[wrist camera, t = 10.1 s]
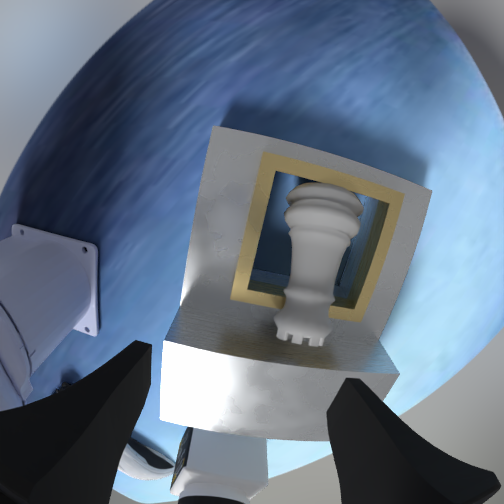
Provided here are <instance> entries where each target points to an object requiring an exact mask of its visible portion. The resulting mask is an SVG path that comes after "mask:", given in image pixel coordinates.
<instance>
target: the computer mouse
mask: <svg viewBox="0 0 504 504" xmlns="http://www.w3.org/2000/svg"><path fill="white" fill-rule="evenodd" d="M69 386H71V385H69V384H68V383H66V382H63V383H62V387H61V389H60V390H58V389H56V392H59V391H61V390H63V389H65V388H67V387H69ZM118 469H119V470H120V471H122V472H123V473H125V474H127V475H129V476H131V477H133V478H136V479H140V480H157V479H161V478H165V477H167V476H169V475H172V474H173V473H174V469H175V464H174V463H173V462H172V461H171V460H170V459H168V458H167V457H165V456H164V455H162V454H161V453H159V452H157V451H155V450H153V449H151V448H149V447H147V446H145V445H143V444H141V443H139V442H138V441H136V440H134V439H133V438H131V437H130V438H129V440H128V442H127V445H126V447H125V449H124V451H123V454H122V457H121V459H120V463H119V466H118Z"/></svg>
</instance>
